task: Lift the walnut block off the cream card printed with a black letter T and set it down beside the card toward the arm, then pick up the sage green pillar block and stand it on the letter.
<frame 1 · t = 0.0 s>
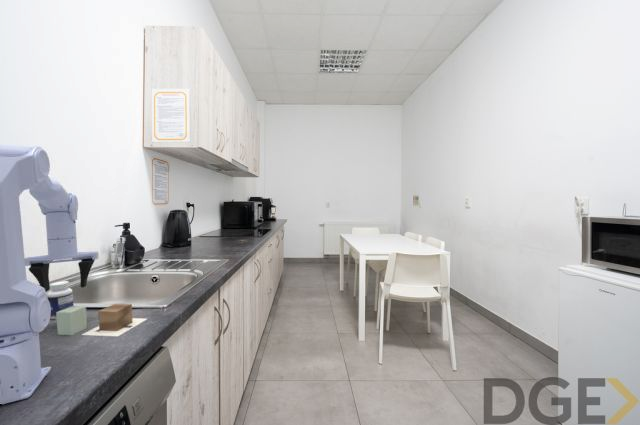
hand: (65, 288, 74), 10 cm above the countertop, tool pointing down, fingers open, 7 cm apart
walnut block: (116, 326, 73), resting on letter card
pill bottle: (61, 316, 82), on the countertop
letter card: (116, 327, 73), on the countertop
sage pillar: (72, 332, 71), on the countertop
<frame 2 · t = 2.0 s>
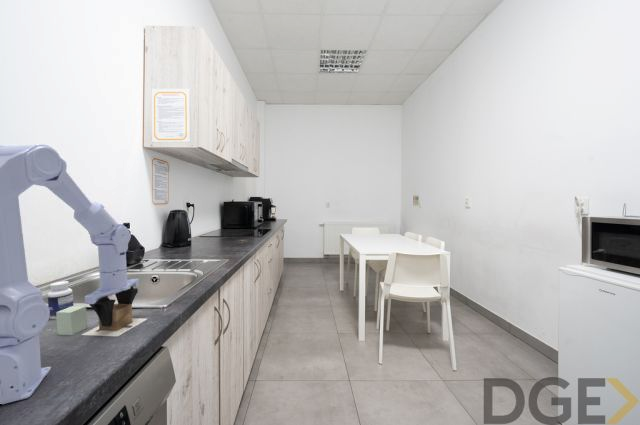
hand: (116, 321, 73), 2 cm above the countertop, tool pointing down, fingers closed on walnut block, 5 cm apart
walnut block: (116, 326, 73), resting on letter card, touching gripper
everything else where it was.
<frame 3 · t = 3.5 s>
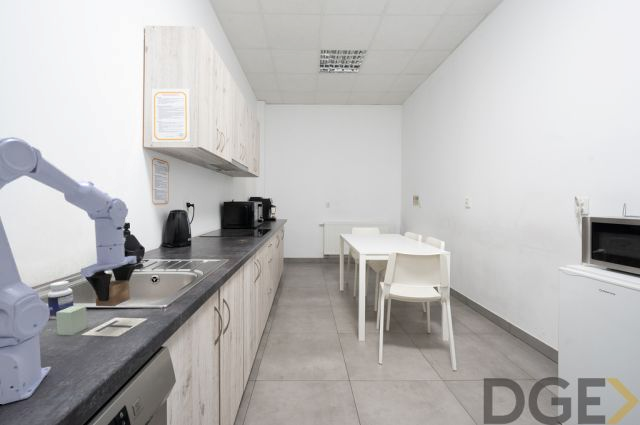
hand: (113, 296, 72), 8 cm above the countertop, tool pointing down, fingers closed on walnut block, 5 cm apart
walnut block: (113, 302, 72), point 7 cm above the countertop, touching gripper
everything else where it was.
when the fingers open (3 cm above the countertop, at t = 5.1 s): walnut block drops 1 cm, on the countertop.
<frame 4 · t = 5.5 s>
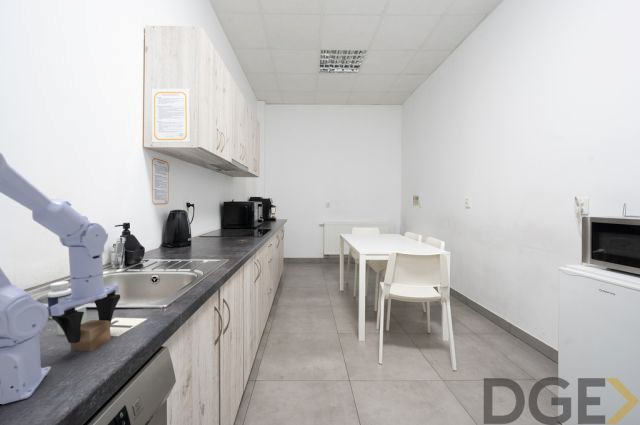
hand: (90, 333, 64), 3 cm above the countertop, tool pointing down, fingers open, 7 cm apart
walnut block: (91, 346, 64), on the countertop
everything else where it was.
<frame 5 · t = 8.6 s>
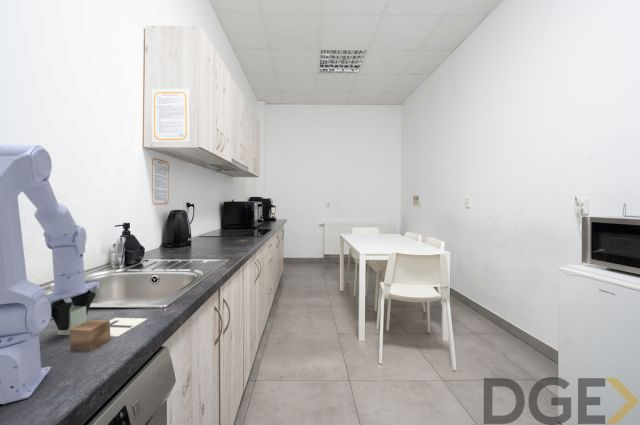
hand: (72, 325, 71), 2 cm above the countertop, tool pointing down, fingers closed on sage pillar, 4 cm apart
sage pillar: (72, 332, 71), on the countertop, touching gripper
everything else where it was.
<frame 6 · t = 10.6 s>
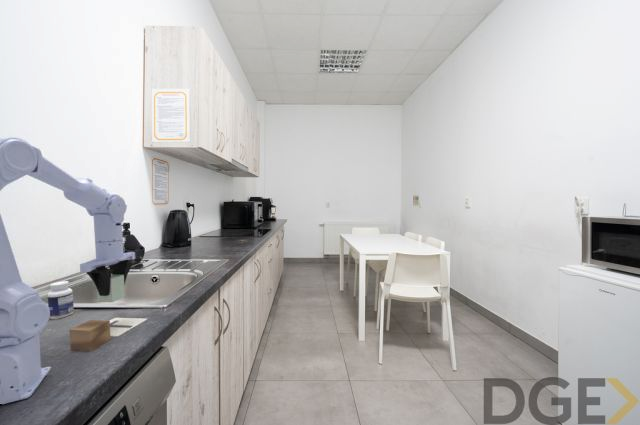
hand: (112, 292, 72), 9 cm above the countertop, tool pointing down, fingers closed on sage pillar, 4 cm apart
sage pillar: (111, 299, 73), point 8 cm above the countertop, touching gripper
everything else where it was.
when the fingers open (3 cm above the countertop, at t = 12.6 s): sage pillar stays where it is, resting on letter card.
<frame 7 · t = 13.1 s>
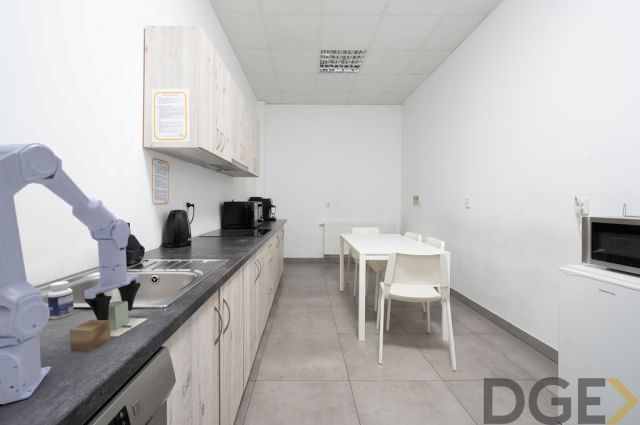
hand: (115, 316, 73), 3 cm above the countertop, tool pointing down, fingers open, 7 cm apart
sage pillar: (115, 326, 73), resting on letter card
everything else where it was.
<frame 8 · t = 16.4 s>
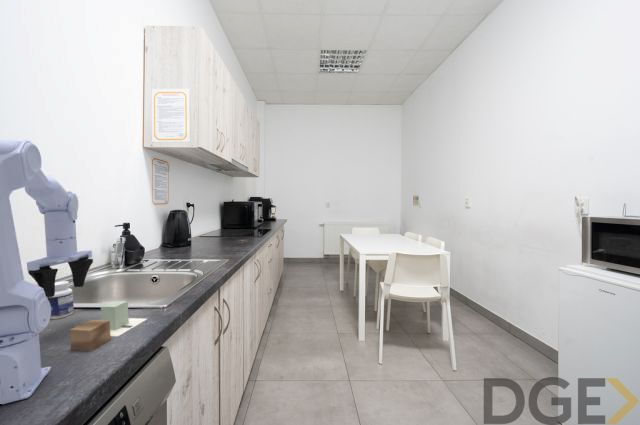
hand: (64, 291, 71), 10 cm above the countertop, tool pointing down, fingers open, 7 cm apart
nothing on the countertop moved.
at the end: sage pillar 0.2 cm off-centre on the letter card, point 0.3 cm above the letter card's base; sage pillar tilted 0°; walnut block touching countertop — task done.
